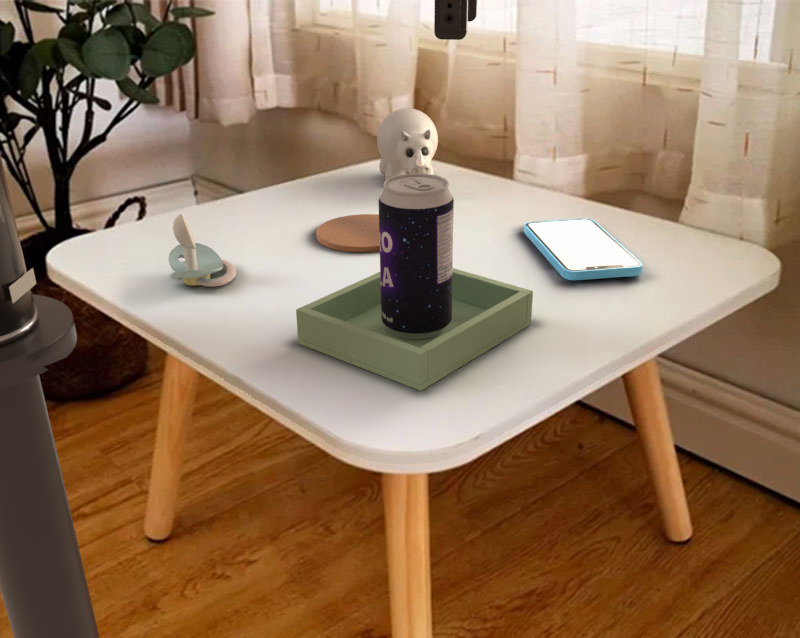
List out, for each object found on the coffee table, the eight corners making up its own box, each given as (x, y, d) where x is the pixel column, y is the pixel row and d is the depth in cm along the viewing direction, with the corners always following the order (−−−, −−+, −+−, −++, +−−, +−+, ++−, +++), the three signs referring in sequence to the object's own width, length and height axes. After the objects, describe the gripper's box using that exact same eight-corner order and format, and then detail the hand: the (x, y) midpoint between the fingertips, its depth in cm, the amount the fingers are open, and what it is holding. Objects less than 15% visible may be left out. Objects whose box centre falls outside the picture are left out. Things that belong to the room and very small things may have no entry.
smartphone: (591, 217, 98) (646, 266, 85) (590, 228, 99) (644, 278, 86) (521, 222, 98) (566, 272, 84) (521, 233, 98) (565, 284, 85)
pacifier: (232, 262, 91) (168, 267, 90) (227, 199, 88) (162, 203, 87) (241, 291, 85) (173, 296, 84) (236, 224, 82) (166, 229, 81)
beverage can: (418, 307, 80) (417, 167, 74) (466, 328, 76) (469, 182, 70) (367, 327, 77) (362, 182, 71) (415, 350, 73) (414, 199, 67)
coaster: (369, 259, 91) (369, 254, 91) (296, 238, 97) (296, 232, 96) (433, 232, 98) (433, 226, 97) (361, 213, 103) (361, 208, 103)
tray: (420, 391, 68) (420, 354, 67) (298, 343, 75) (295, 309, 74) (531, 324, 78) (533, 290, 76) (413, 287, 85) (413, 256, 84)
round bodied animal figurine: (387, 203, 106) (385, 127, 102) (374, 174, 117) (372, 103, 112) (450, 200, 107) (451, 124, 103) (431, 170, 117) (432, 100, 113)
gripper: (418, -229, 67) (418, 15, 75) (386, -250, 55) (390, 44, 63) (524, -231, 66) (513, 16, 74) (516, -253, 54) (503, 46, 62)
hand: (456, 29), depth 68 cm, fingers open, 8 cm apart
